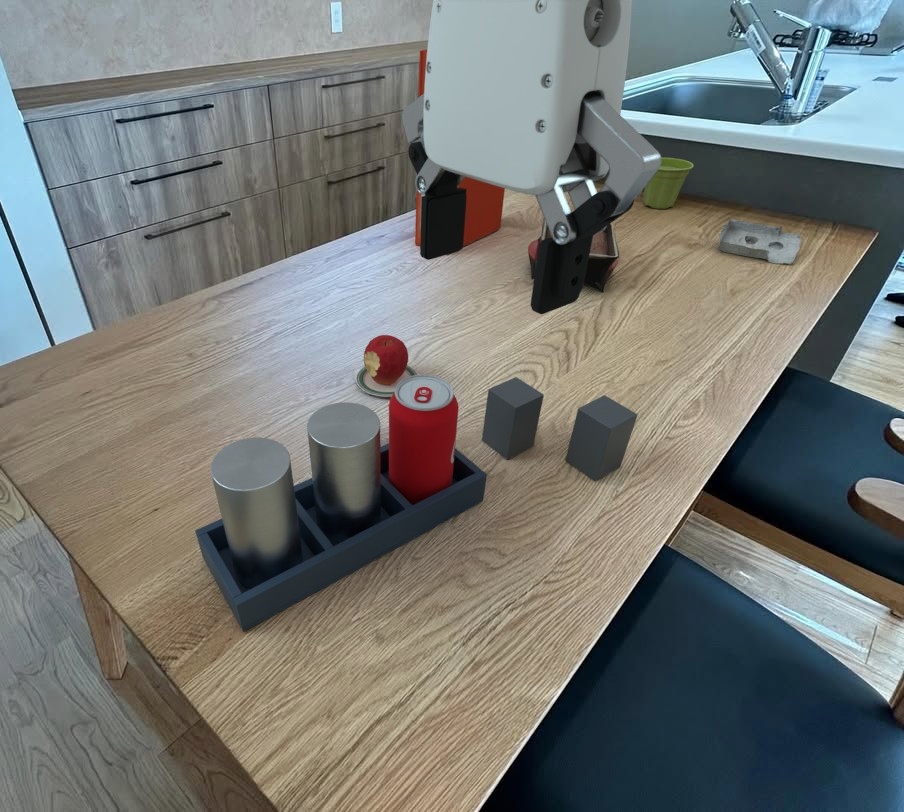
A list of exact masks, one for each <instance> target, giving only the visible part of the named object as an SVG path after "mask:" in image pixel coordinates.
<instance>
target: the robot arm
mask: <svg viewBox="0 0 904 812" xmlns="http://www.w3.org/2000/svg"><path fill="white" fill-rule="evenodd" d="M632 7H633V0H432V6H431V13H430V21H429V22H430V23H429V31H428V41H427V59H426V72H425V87H424V94H423V95H421V96H420V97H419V96H418V97H417V98H416V99H415V100H413V101H412V102H410V103H409V104H408V105H407V106H406V107H404V108H403V110H402V112H401V119H402V124H403V128H404V133H405V136H406V139H407V143H408V144H409V146H408V150H407V151H408V153H407V154H408V158H409V160H410V162H411V165H412V167H413V169H414V171H415V173H416V177H415V181H414V184H415V190H416V189H417V191H418V193H419V194H422V195H423V194H425V196H422V200H421V239H420V246H419V255H420V257H421V258H423V259H425V260H427V261H430V260H434V259H437V258H441V257H445V256H448V255H450V254H454V253H457V252H460V251H462V249H463V248H464V246H463V243H464V229H465V214H466V200H467V195H466V190H467V189H465V188H457V186H459V184H460V183H461V182H462V180H463V179H464V178H465V177H469V178H472V179H475V180H478V181H482V182H485V183H489V184H492V185H495V186H499V187H502V188H505V190H509V191H511V192H516V193H520V194H524V195H530V196H534V197H535V199H536V201H537V203H538V206H539V208H540V211H541V213H542V215H543V218H545V221H546V223H547V226H548V228H549V231H550V233H551V236H552V237H551V238H547V239H544V240H541V243H540V245H539V250H538V256H537V263H536V270H535V277H534V279H533V284H532V292H531V298H530V307H531V311H533V312H535V313H537V314H539V315H544V314H547V313H550V312H552V311H555V310H558V309H560V308H562V307H563V308H564V307H566V306H569V305H570V304H574V303H575V302H576V301H577V300H578V299H579V298H580V295H581V292H582V290H583V288H584V285H585V284H584V279H585V274H586V269H587V264H588V259H589V254H590V249H591V244H592V239H593V235H595V234H598V233H601V232H603V231H604V230H605V229H606V227H607V226H608V225H609V224H610V223H612V224H613V222H615V221H616V220H618V219H619V218H621V217H622V216H624V215H625V214H626V213H628V212H629V211H630V210H631V209H632V208H633V205H634V202H635V199H636V198H637V197H639V196H640V194H641V193H642V192H643V190H644V189H645V186H646V185H647V184H648V182H649V181H650V180H651V178H652V177H653V176H654V174H655V173H656V172H657V170H658V169H659V167H660V165H661V161H662V159H661V158H662V154H661V153H660V151H659V150H658V149H656V148H655V147H654V145H652V144H651V143H650V142H649V141H648V140H647V139H646V138H645V137H644V136H643V135H642V134H641V133H640V132H639V131H637V130H636V129H635V127H633V125H631V124H630V123H629V122H628V121H627V120H626V119H625V118H624V117H623V116H622V115H621V113H622V107H623V106H622V105H623V99H624V94H625V93H624V92H625V85H626V77H627V68H628V59H629V50H630V49H629V48H630V39H631V24H632V10H633V9H632ZM607 174H608V175H607ZM605 176H607V178H606V179H605V181H604V182H603V186H602V187H601V189H600V190H599V192H598V190H597V187H596V185H595V182H596V181H599V180H601V179H603V178H604V177H605ZM565 193H567V194H568V197H569V199H570V201H571V204H572V206H573V209H574V210H573V211H572V209H571V207H570V204H569V203H568V200H567V197H566V195H565Z"/></svg>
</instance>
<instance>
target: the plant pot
mask: <svg viewBox="0 0 904 812" xmlns="http://www.w3.org/2000/svg"><path fill="white" fill-rule="evenodd" d="M661 159H662V161H661V165H660V167H659V169H658V170H657V172H656V173H655V174H654V176H653V177H652V178H651V180H650V181H649V182H648V184H647V185H646V186H645V188H644V189H643V190H644V191H643V199H642V204H643V205H644V206H645V207H647V206H649V207H651V209H657V210H658V209H659V210H666V209H668V208H673V207H674V205H675V202H677V201H676V200H677V198H678V195H679V194H680V191H681V190H682V186H683V185H684V182H685V180H686V177H687V176H688V175H689V174H690V172H691V170H692V169H693V168H694V166H695V165H694V163H693V162H691V161H688V160H685V159H682V158H681V159H680V158H674V157H661Z"/></svg>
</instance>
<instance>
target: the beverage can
mask: <svg viewBox="0 0 904 812" xmlns="http://www.w3.org/2000/svg"><path fill="white" fill-rule="evenodd" d="M459 407H460V406H459V402H458V400H457V398H456V396H455V392H454V388H453V386H452V384H451V383H450V382H448V381H447V380H446V379H444V378H442V377H439V376H437V375H432V374H418V375H414V376H410V377H407V378H404V379H403V380H401V381H400V382H399V383H398V384H397V386H396V387H395V392H394V393H393V395H392V397H390V399H389V402H388V443H389V482H390V483H391V484H392V485H393V486H394V487H395V488H396V489H397V490H398V491H399V492H400V493H401V494H402V495H403V496H404V497H405V498H406V499H407V500H408V502H409V503H410V504H411V505H415V504H417V503H418V502H420V501H422V500H424V499H426V498H428V497H430V496H432V495H434V494H436V493H438V492H440V491H442V490H444V489H446V488H447V487H449V486H451V485H452V477H453V465H454V454H455V448H456V440H457V431H458V430H457V429H458V421H459V420H458V419H459V418H458V417H459Z"/></svg>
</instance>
